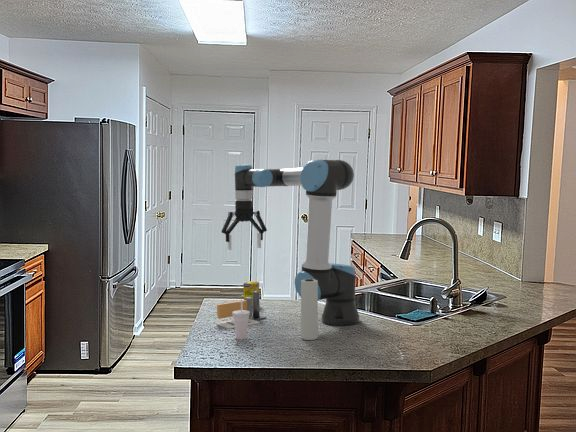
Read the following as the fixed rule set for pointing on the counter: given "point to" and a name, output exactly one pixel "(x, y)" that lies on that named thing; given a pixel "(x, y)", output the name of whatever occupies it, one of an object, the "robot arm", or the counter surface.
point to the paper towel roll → (309, 309)
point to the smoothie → (241, 323)
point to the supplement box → (250, 289)
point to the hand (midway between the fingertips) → (244, 248)
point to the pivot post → (256, 307)
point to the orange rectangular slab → (234, 308)
